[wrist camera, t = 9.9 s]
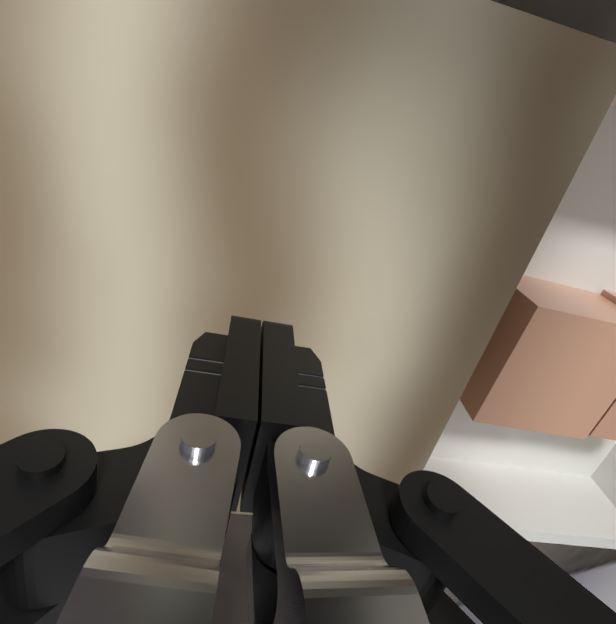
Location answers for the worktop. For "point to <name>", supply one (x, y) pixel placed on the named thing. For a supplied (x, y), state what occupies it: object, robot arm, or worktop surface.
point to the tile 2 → (612, 422)
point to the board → (276, 198)
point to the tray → (541, 446)
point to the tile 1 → (547, 362)
